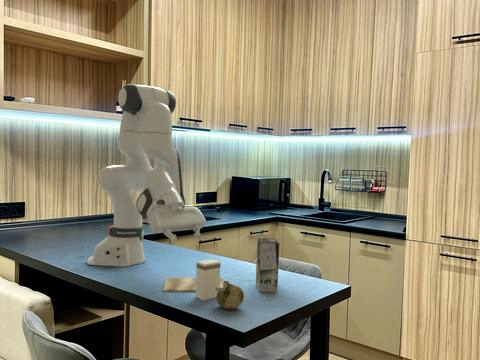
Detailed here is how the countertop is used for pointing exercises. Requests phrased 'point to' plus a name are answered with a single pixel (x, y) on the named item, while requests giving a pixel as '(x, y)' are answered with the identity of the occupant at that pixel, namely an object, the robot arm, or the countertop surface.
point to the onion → (229, 296)
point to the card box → (207, 279)
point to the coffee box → (267, 264)
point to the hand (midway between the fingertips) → (186, 239)
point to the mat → (182, 284)
